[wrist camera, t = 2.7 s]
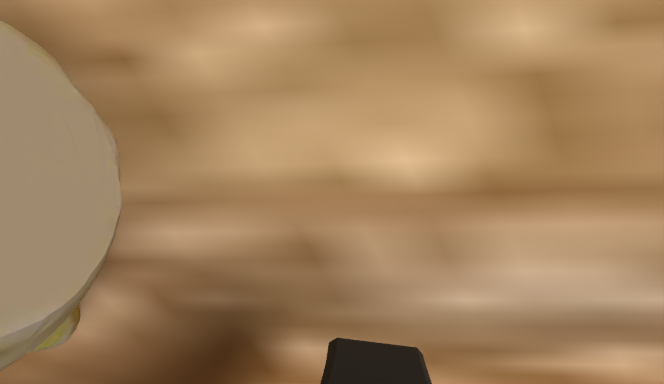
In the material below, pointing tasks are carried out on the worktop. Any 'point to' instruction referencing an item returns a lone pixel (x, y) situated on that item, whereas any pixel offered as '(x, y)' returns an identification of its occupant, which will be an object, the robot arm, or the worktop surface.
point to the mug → (49, 198)
